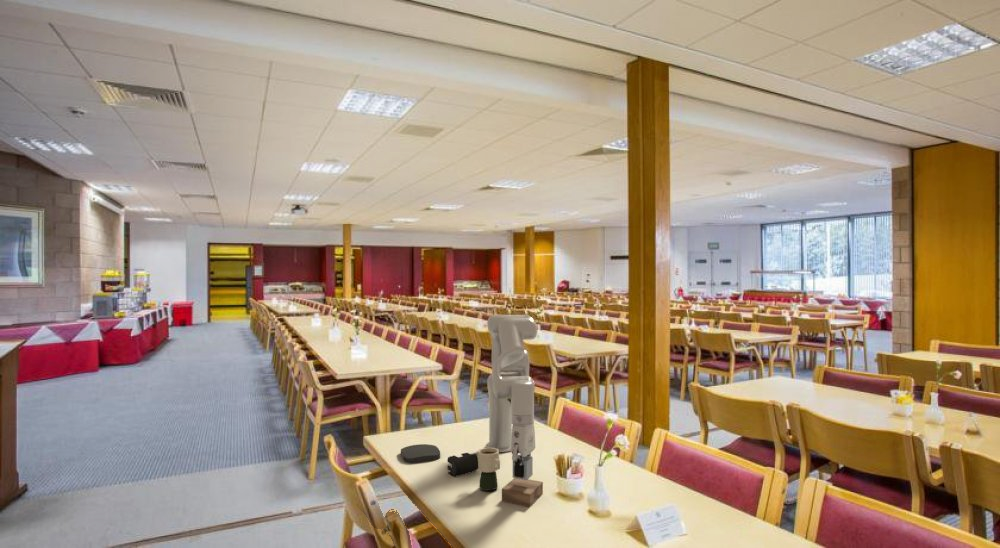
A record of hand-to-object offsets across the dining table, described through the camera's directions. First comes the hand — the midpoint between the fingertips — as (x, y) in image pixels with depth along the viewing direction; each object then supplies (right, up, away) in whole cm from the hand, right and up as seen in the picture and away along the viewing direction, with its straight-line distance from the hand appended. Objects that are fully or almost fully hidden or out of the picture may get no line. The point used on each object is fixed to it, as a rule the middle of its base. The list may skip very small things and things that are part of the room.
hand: (522, 473), depth 174 cm
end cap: (-21, -8, +21) cm, 31 cm away
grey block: (0, -1, 0) cm, 1 cm away
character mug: (-11, -8, +7) cm, 16 cm away
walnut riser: (0, -8, 0) cm, 8 cm away
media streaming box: (-40, -9, +40) cm, 57 cm away
